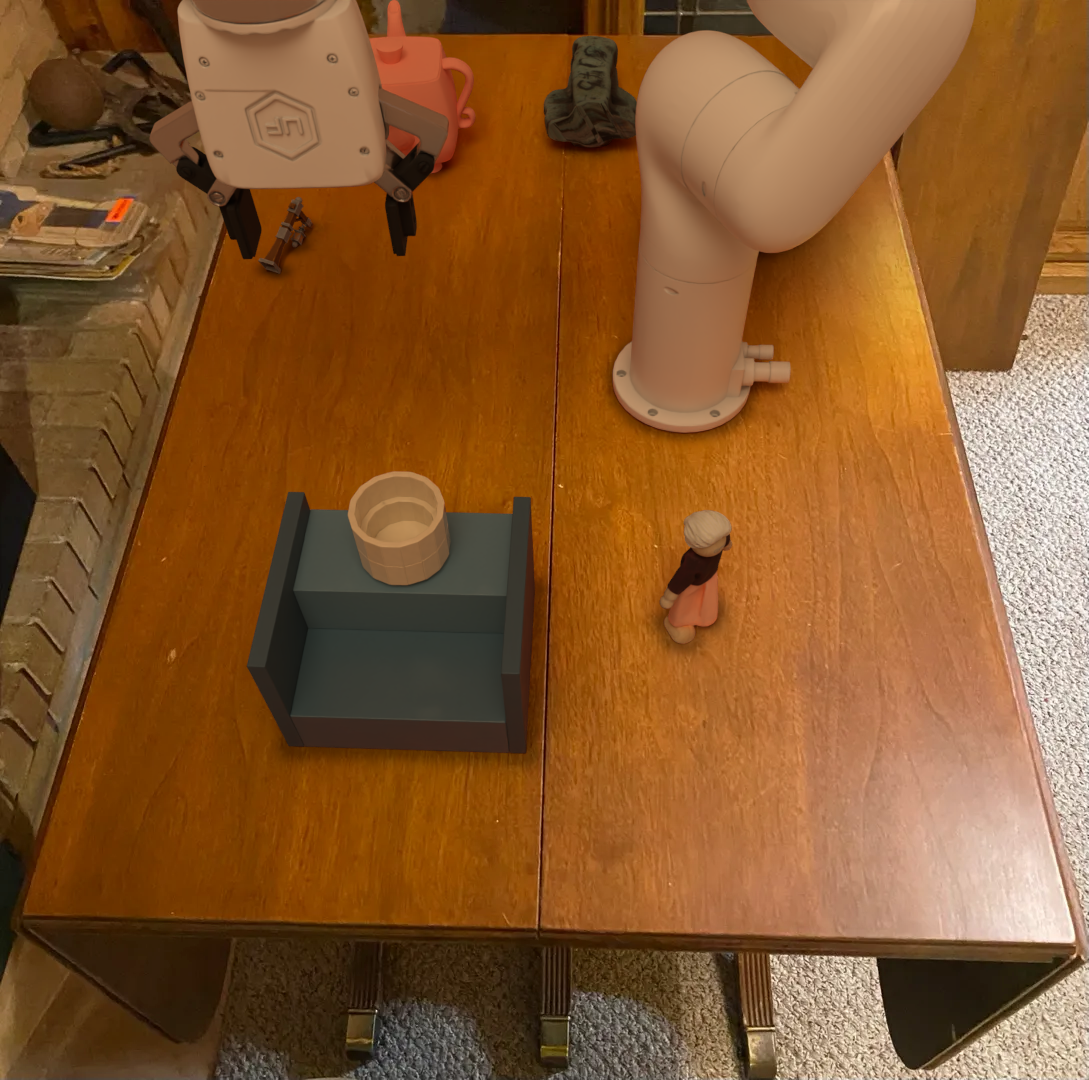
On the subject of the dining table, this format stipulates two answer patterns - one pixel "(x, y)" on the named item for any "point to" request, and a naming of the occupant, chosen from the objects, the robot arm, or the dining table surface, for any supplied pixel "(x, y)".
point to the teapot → (422, 81)
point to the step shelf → (398, 638)
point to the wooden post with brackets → (287, 235)
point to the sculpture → (591, 98)
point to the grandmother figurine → (696, 576)
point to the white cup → (400, 527)
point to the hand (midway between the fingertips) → (327, 243)
